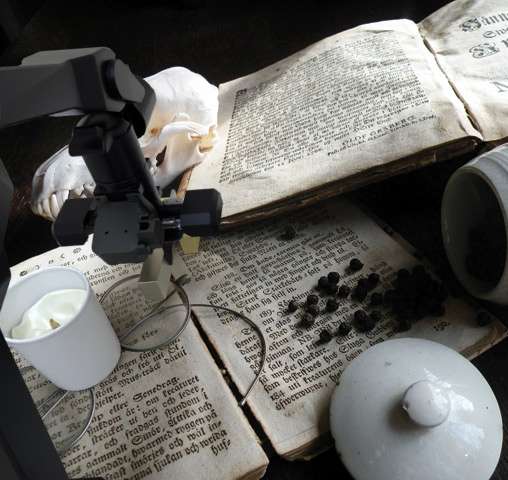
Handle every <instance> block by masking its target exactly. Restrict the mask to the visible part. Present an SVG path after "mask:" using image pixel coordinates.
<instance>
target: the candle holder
mask: <svg viewBox="0 0 508 480" xmlns="http://www.w3.org/2000/svg"><path fill="white" fill-rule="evenodd" d="M0 328H1V331H2V333H3V335H4V337H5V339H6V342H7V344H8V346H9V348H10V349H12V350H14V351H15V352H16V353H17V354H18V355H19V356H20V357H22V358H23V359H24V360H25V361H26V362H27V363H29V364H30V365H31V366H32V367H33V368H34V369H35V370H37V371H38V372H39V373H40V374H41V375H42V376H44V377H45V378H46V379H47V380H48V381H50V382H51V383H52V384H54V385H55V386H56V387H58V389H59V388H60V389H61V390H64V391H68V392H78V391H85V390H87V389H88V390H89V388H92V387H94V386H96V385H98V384H100V383H102V382H103V381H104V380H105V379H106V378H107V377H109V376H110V375H111V374H112V373H113V371H114V370H115V368H116V367H117V365H118V363H119V361H120V358H121V352H122V347H121V343H120V340H119V338H118V336H117V334H116V331H115V330H114V328H113V325H112V323H111V322H110V319H109V318H108V316H107V314H106V313H105V310H104V308H103V307H102V305H101V302H100V301H99V299H98V297H97V295H96V293H95V291H94V289H93V287H92V285H91V283H90V280H89V278H88V276H87V275H86V274H85V273H84V272H83V271H82V270H80V269H78V268H76V267H74V266H70V265H51V266H45V267H42V268H39V269H36V270H33V271H30V272H29V273H27V274H24V275H23V276H21V277H20V278H18V279H16V280H14V281H13V282H12V283H11V284H9V287H8V290H7V293H6V296H5V299H4V302H3V305H2V309H1V312H0Z"/></svg>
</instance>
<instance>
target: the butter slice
mask: <svg viewBox="0 0 508 480" xmlns="http://www.w3.org/2000/svg"><path fill="white" fill-rule="evenodd" d="M200 242H201V237H190V236H188V235H186V234H183V237H182V239H181V240H180V241H179V243H180V246H181V249H182V252H183V254H184V255H185V254H198V253H199V248H200Z"/></svg>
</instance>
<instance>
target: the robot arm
mask: <svg viewBox="0 0 508 480" xmlns="http://www.w3.org/2000/svg"><path fill="white" fill-rule="evenodd" d="M156 105H157V94H156V91H155V89H154V88H153V87H152V85H151V84H150V83H149V82H147V80H145V79H144V78H143V77H141V76H139V75H137V74H135V73H132V72H131V69H130V67H129V64H127V63H124V62H123V60H121V59H118V58H117V59H116V53H115V52H114V51H113V50H112V49H111V48H109V47H107V46H98V47H85V48H84V47H83V48H72V49H69V48H68V49H57V50H43V51H42V50H41V51H38V52H35V53H34V54H33V53H32V54H31V55H29V56H25V57H24V58H22V60H21V64H19V65H14V66H13V65H11V66H0V130H1V129H4V128H8V127H12V126H16V125H19V124H20V125H21V124H23V123H27V122H30V121H35V120H38V119H42V118H45V117H66V116H68V117H69V116H80V115H85V116H84V117H81V119H80V120H79V121H78V123H77V125H76V126H75V125H74V126H73V127H72V132H71V138H70V140H69V142H68V144H67V145H68V146H67V154H68V156H69V157H72V158H75V157H81V158H82V160H83V162H84V164H85V166H86V168H87V170H88V173H89V174H90V176H91V178H92V180H93V182H94V184H95V186H94V188H93V191H92V195H93V196H88V197H76V198H75V197H74V198H65V199H64V201H63V203H62V205H61V206H60V208H59V211H58V212H57V214H56V217H55V219H54V221H53V223H52V225H51V228H50V229H51V235H52V237H53V238H54V239H55V241H56V243H57V244H58V245H59V246H60V247H61V248H65V247H79V246H85V244H86V243H87V242H88V241H89V238H90V235H89V234H88V232H87V229H88V227H90V228H91V227H93V233H92V239H91V251H92V253H93V254H94V255H96V256H97V257H98V258H99V259H100V260H102V261H103V262H104V263H105V264H107V265H108V266H117V265H126V264H127V265H129V264H135V265H136V264H143V262H144V261H146V260H147V258H148V256H149V255H152V254H153V250H155V249H159V248H162V249H163V252H164V255H165V258H166V260H167V262H168V264H169V265H173V266H174V263H173V261H174V262H175V252H176V251H175V250H176V242H180V240H181V239H182V237H183V234H186V235H188V236H190V237H200V238H201V237H212V236H213V237H214V236H216V235H217V234H219V233H220V229H221V222H222V214H223V207H224V201H223V197H222V193H221V192H220V191H219V190H218V189H217V188H215V187H212V188H211V187H210V188H209V187H208V188H198V189H186V190H185V192H184V196H183V197H177V198H169V197H168V198H169V199H164V200H162V201H161V198H162V195H163V190H162V188H161V185H156V183H155V180H154V177H153V174H152V172H151V169H152V166H153V163H152V161H151V157H148V156H147V157H145V155H144V154H145V153H144V152H143V149H142V146H141V144H140V141H139V139H141V138H142V137H143V136H145V135H146V132H147V130H148V126H149V124H150V121H151V119H152V117H153V113H154V110H155V107H156ZM14 193H15V187H14V184H13V181H12V180H11V178H10V176H9V173H8V171H7V169H6V167H5V164H4V163H3V161H2V159H1V157H0V312H1V309H2V305H3V302H4V299H5V296H6V293H7V290H8V287H9V286H10V283H11V280H12V271H11V267H10V263H9V259H8V255H7V252H6V250H5V245H4V242H5V237H6V233H7V227H8V223H9V219H10V214H11V208H12V204H13V199H14ZM0 480H106V479H105V478H104V477H103V476H88V477H87V476H86V477H74V478H72V477H71V478H70V476H69V474H68V472H67V470H66V468H65V465H64V464H63V461H62V460H61V457H60V455H59V453H58V450H57V448H56V446H55V444H54V441H53V439H52V436H51V435H50V433H49V430H48V429H47V427H46V424H45V422H44V420H43V418H42V415H41V413H40V411H39V408H38V407H37V405H36V402H35V401H34V398H33V396H32V394H31V392H30V390H29V387H28V385H27V383H26V381H25V379H24V375H23V374H22V372H21V370H20V368H19V366H18V364H17V361H16V359H15V357H14V355H13V353H12V350H11V347H10V346H9V345H8V344H7V342H6V339H5V337H4V335H3V333H2V331H1V328H0Z"/></svg>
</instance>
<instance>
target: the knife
mask: <svg viewBox="0 0 508 480" xmlns="http://www.w3.org/2000/svg"><path fill="white" fill-rule="evenodd" d="M169 197H170V198H178V195H177V192H176V190H175V189H171V191H170V195H169ZM174 262H175V260H174V261H173V265H169V264H168V262H167V260H166V258H165V255H164V252H163V249H162V248H159V249H155V250H153V254H152V255H149V256H148V258H147V260H146V261H144V262H143V263H142V266H141V270H140V274H139V276H138V279H137V285H138V287H139V289H140V291H141V294H142V295H143V296H144V298H145V300H146V301H148V302H150V301H160V300H161V301H162V300H166V298H167V295H168V290H169V286H170V281H171V276H172V271H173V266H174Z"/></svg>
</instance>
